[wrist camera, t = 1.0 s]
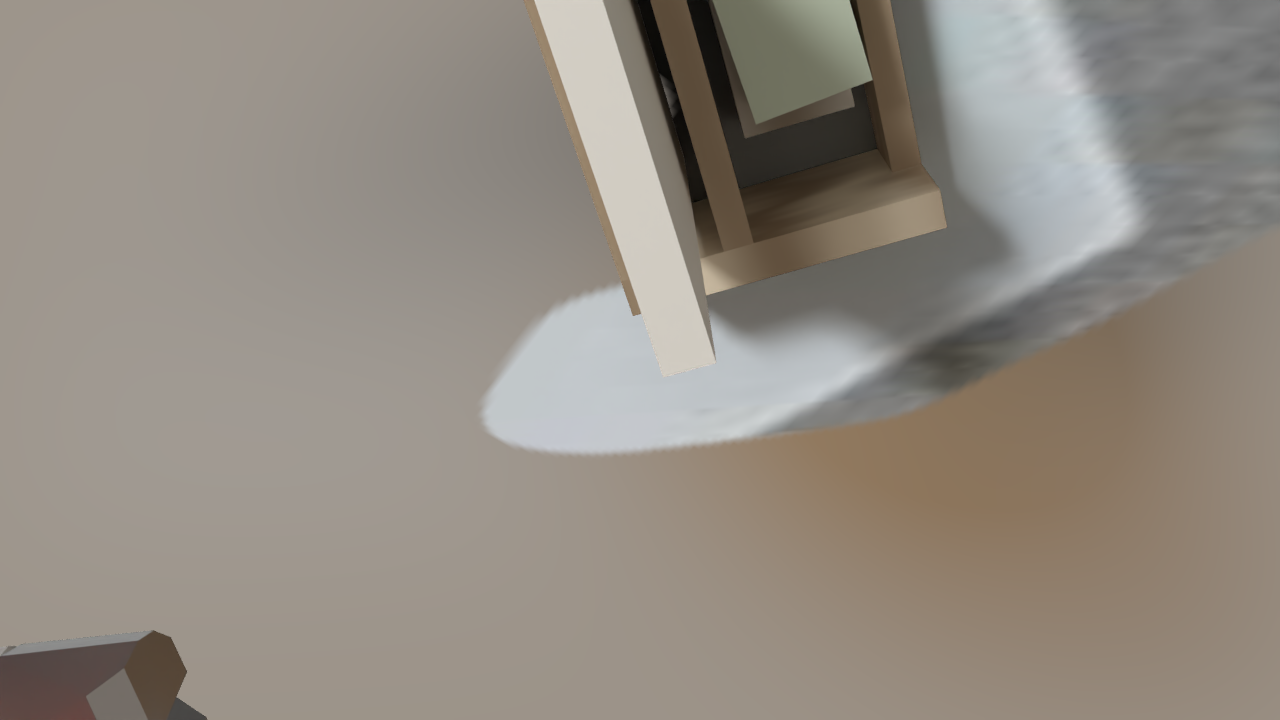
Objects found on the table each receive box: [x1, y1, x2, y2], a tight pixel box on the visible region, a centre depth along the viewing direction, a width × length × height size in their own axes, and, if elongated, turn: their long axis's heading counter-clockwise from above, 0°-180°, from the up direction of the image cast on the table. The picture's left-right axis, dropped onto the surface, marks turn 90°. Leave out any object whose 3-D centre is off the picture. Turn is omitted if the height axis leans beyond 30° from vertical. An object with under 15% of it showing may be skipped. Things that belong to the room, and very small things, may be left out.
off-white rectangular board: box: [534, 0, 716, 377], centre depth 37 cm, size 2×14×18 cm, turn 17°
